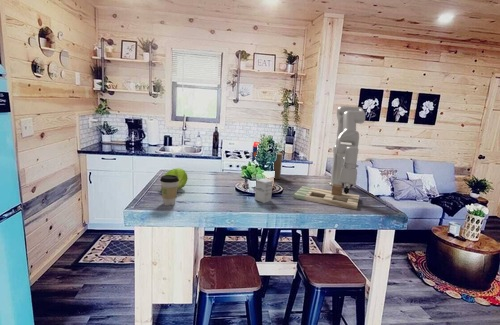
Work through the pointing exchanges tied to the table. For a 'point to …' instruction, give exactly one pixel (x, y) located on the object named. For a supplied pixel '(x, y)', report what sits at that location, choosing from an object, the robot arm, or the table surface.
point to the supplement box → (263, 190)
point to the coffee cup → (169, 189)
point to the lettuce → (179, 176)
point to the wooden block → (278, 166)
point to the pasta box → (254, 150)
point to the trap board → (327, 197)
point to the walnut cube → (337, 189)
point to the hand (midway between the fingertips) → (346, 193)
